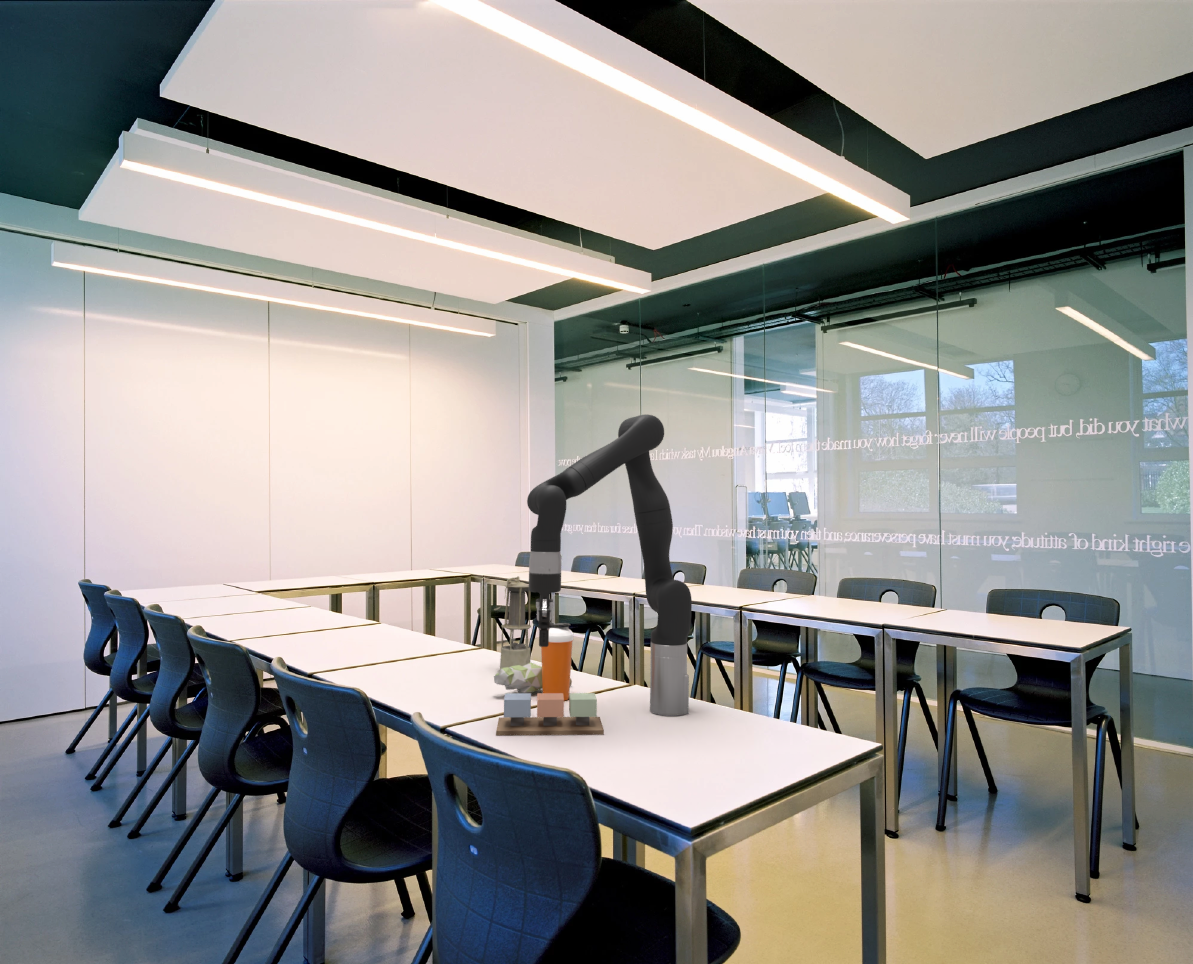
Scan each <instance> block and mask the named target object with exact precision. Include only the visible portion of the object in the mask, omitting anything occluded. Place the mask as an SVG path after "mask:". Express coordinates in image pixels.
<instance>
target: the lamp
mask: <svg viewBox="0 0 1193 964" xmlns="http://www.w3.org/2000/svg"><path fill="white" fill-rule="evenodd" d="M520 579H521V577H520V576H517V577H511V578H510V577H509V578H508V579H507V580H506V584H504V587H505V588H504V600H505V599H506V601H505V614H504V624H501V629H502V632H501V639H500V640H501V646H500V659H499V670H498V672H499V671H500V669H502V668H506V667H508V668H509V667H510V666H516V665H520V666H524V665H526V664H529V663H531V647H530V646H529V629H530V628H532V625H531V613H532V611H531V591H529V584H526V583H525V582H523V581H520ZM526 592H527V597H528V598H527V600H528V604H527V605H528V606H527V609H528V624H526ZM494 596H495V595H494ZM501 607H502V605H501V606H499V607H496V608H494V609H493V611H497V610H499V609H500V608H501ZM503 629H506V630H509V645H504V630H503ZM515 630H516V631H517V630H518V631H519V630H520V631H522V630H525V633H524V635H525V643H518V642H514V632H515ZM498 672H497V673H498Z"/></svg>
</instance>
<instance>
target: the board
mask: <svg viewBox="0 0 1193 964" xmlns="http://www.w3.org/2000/svg"><path fill="white" fill-rule="evenodd" d="M592 735H593V736H594V735H595V736H596V735H597V736H598V735H599V736H600V735H601V736H604V735H605V729H604V726H603V723H602V719H601V716H597V717H570V716H564V717H537V716H530V717H504V716H502V717H498V721H497V725H496V729H495V736H497V737H498V736H503V737H504V736H505V737H506V736H510V737H511V736H513V737H514V736H592Z"/></svg>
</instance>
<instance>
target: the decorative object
mask: <svg viewBox="0 0 1193 964" xmlns="http://www.w3.org/2000/svg"><path fill="white" fill-rule="evenodd" d="M499 670H500V671H499ZM499 670H498V671H499V672H497V673H496V674H494V676H493V683H494V684H496V685H499V686H504V688H505V690H507V691H508V690H510V691H511V690H517V693H531V694H533V693H536V692H538V691H540V690H542V665H538V664H536V663H533V662H530V663H529V664H526V665H524V666H520V665H516V666H510V667H509V668H508V667H506V668H502V669H500V668H499ZM572 683H573V681H572V678H571V677H570V687H571V686H572Z"/></svg>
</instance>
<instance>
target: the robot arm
mask: <svg viewBox="0 0 1193 964" xmlns="http://www.w3.org/2000/svg"><path fill="white" fill-rule="evenodd" d="M617 436H618V438H616V439H614V440H613V441H612V442H610V443H608V444H606V445H604V446H602V447H600V448H597V449H596V450H595V451H593V452H590V453H589V454H587V455H585V456H583V457H581V458H580V459H579V460H577V461H576V462H574V463H573V464H571V465H570V466H568V467H567V468H565V469H564V470H563V471H562V472H560V473H559V474H557V475H555V476H553V477H551V478H549V479H547V480H544V481H543V482H541V483H540V484H538V485H536V486H535V487H534V488H533V489H532V490H531V491H530V492H529V494H528V496H527V500H526V504H527V507H528V509H529V510H530V512H532V514H535V515H537V522H536V525H535V526H534V527H533V528H532V530H531V533H530V554H529V561H528V562H529V563H528V585H529V591H530V593H538V594H539V598H536V599H535V607H536V620H537V621H538V627H537V629H538V637H539V638H538V645H539V647H540V648H541V647H547V646H548V645H549V629H550V622H552V619H553V616H552V614H553V608H554V599H553V598H551V597H550V596H551V594H554V593H559V592H561V590H562V556H561V550H562V549H561V546H562V545H561V544H562V543H561V542H562V535H561V534H562V529H563V526H564V521H565V517H566V514H567V500H569V499H571V498H576V497H578V496H580V495H582V494H583V493H584V492H587V491H588V490H589V489H590V488H592V487H593V486H594V485H596V484H597V483H598V482H601V480H603V479H604V478H605V477H607V476H608V475H609V474H611V473H613V472H615V470H617V469H618V468H620V467H621V466H623V465H625V469H626V473H627V477H628V483H629V489H630V495H631V498H632V499H631V500H632V507H633V513H634V514H633V515H634V517H635V518H634V519H635V525H636V529H637V534H638V538H639V539H638V540H639V544H640V552H641V555H642V561H643V570H644V583H645V596H646V600H647V604H648V605H649V608H651V610H652V611H654V612H655V613H657V623H656V626H655V628H654V629H652V630H651V632H650V665H649V666H650V668H649V669H650V673H649V674H650V680H649V684H650V685H649V712H650V713H652V714H655V715H660V716H667V717H672V716H673V717H676V716H682V715H689V713H690V712H689V709H690V707H689V703H690V699H689V698H690V695H689V694H690V691H689V690H690V688H689V687H690V683H689V682H690V679H689V677H690V676H689V674H688V637H689V634H690V631H691V625H692V624H691V623H692V608H693V607H692V606H693V605H692V604H693V603H692V594H691V590H690V587H688V585H687V584H686V583H685V582H684V581H681V580H678V579H674V576H673V571H672V566H671V562H670V560H671V559H670V550H671V543H672V538H673V532H674V531H673V530H674V526H673V525H674V524H673V522H674V521H673V517H672V511H671V504H670V500H669V498H668V495H667V494H666V491H665V490H664V488H663V486H662V485H661V483H660V481H659V480H658V477H657V476H656V474H655V472H654V470H653V466H652V461H651V456H650V451H652V450H654V449H656V448H658V447H659V446H660V445H661V444H662V442H663V440H664V437H665V427H664V424H663V422H662V421H661V420H660V418H658V417H657V416H656V415H652V414H640V415H637V416H633V417H632V416H631V417H628V418H627V419H624V420H623V421H622V422H621V424H620V425H619V428H618V431H617Z"/></svg>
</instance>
